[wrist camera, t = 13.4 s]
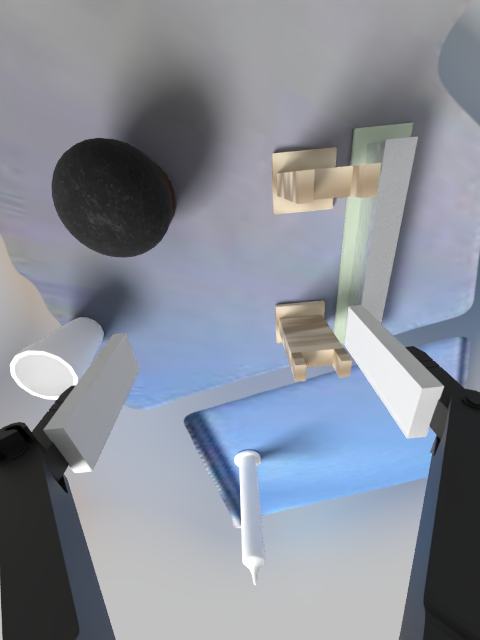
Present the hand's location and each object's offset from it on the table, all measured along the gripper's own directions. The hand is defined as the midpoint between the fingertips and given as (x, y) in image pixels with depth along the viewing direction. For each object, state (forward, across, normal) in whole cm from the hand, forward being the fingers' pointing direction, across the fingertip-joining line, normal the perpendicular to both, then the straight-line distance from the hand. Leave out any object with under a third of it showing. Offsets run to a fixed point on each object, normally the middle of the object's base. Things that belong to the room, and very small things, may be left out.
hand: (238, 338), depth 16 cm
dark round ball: (+31, -14, +7) cm, 35 cm away
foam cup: (+31, -30, -14) cm, 46 cm away
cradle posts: (+31, +11, -6) cm, 33 cm away
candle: (+30, -4, -58) cm, 66 cm away
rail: (+30, +22, -6) cm, 38 cm away
